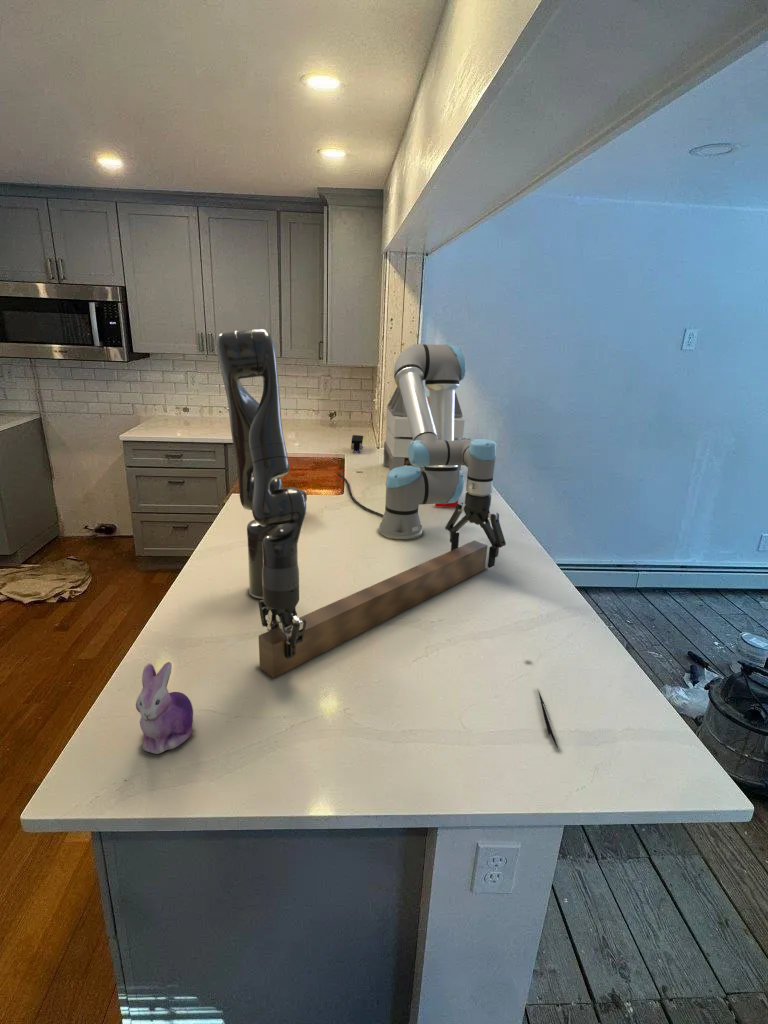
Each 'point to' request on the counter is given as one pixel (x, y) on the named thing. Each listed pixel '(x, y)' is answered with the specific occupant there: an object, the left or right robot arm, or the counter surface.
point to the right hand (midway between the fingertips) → (472, 559)
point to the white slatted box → (407, 431)
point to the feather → (547, 719)
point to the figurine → (162, 711)
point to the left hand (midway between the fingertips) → (282, 651)
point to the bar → (371, 607)
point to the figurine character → (356, 443)
